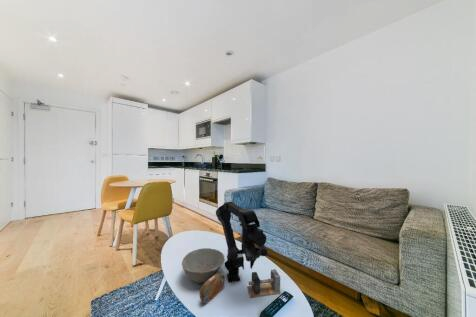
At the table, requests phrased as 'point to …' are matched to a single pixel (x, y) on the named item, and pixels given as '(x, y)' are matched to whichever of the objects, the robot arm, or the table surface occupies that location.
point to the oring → (256, 283)
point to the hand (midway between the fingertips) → (247, 268)
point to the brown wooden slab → (212, 287)
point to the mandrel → (266, 286)
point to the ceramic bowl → (202, 264)
